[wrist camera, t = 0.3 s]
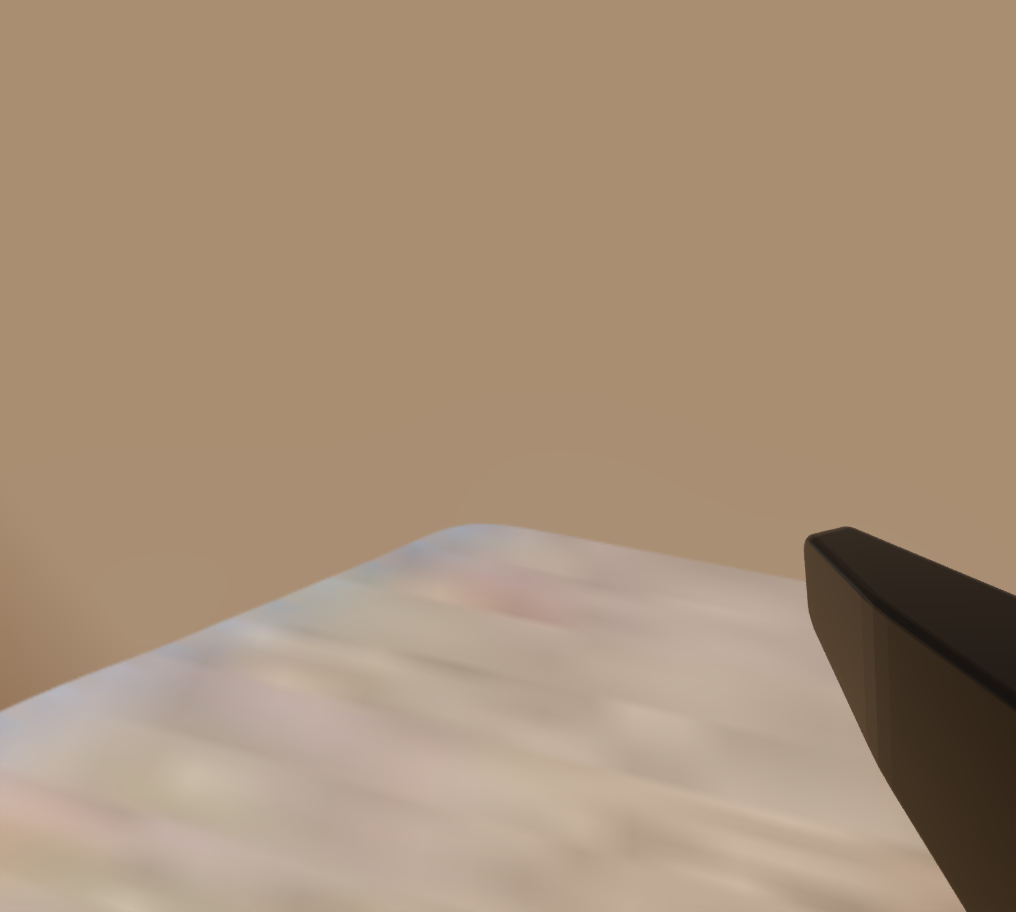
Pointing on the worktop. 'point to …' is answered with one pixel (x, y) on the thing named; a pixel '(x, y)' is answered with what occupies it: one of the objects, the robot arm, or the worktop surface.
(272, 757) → the worktop surface
